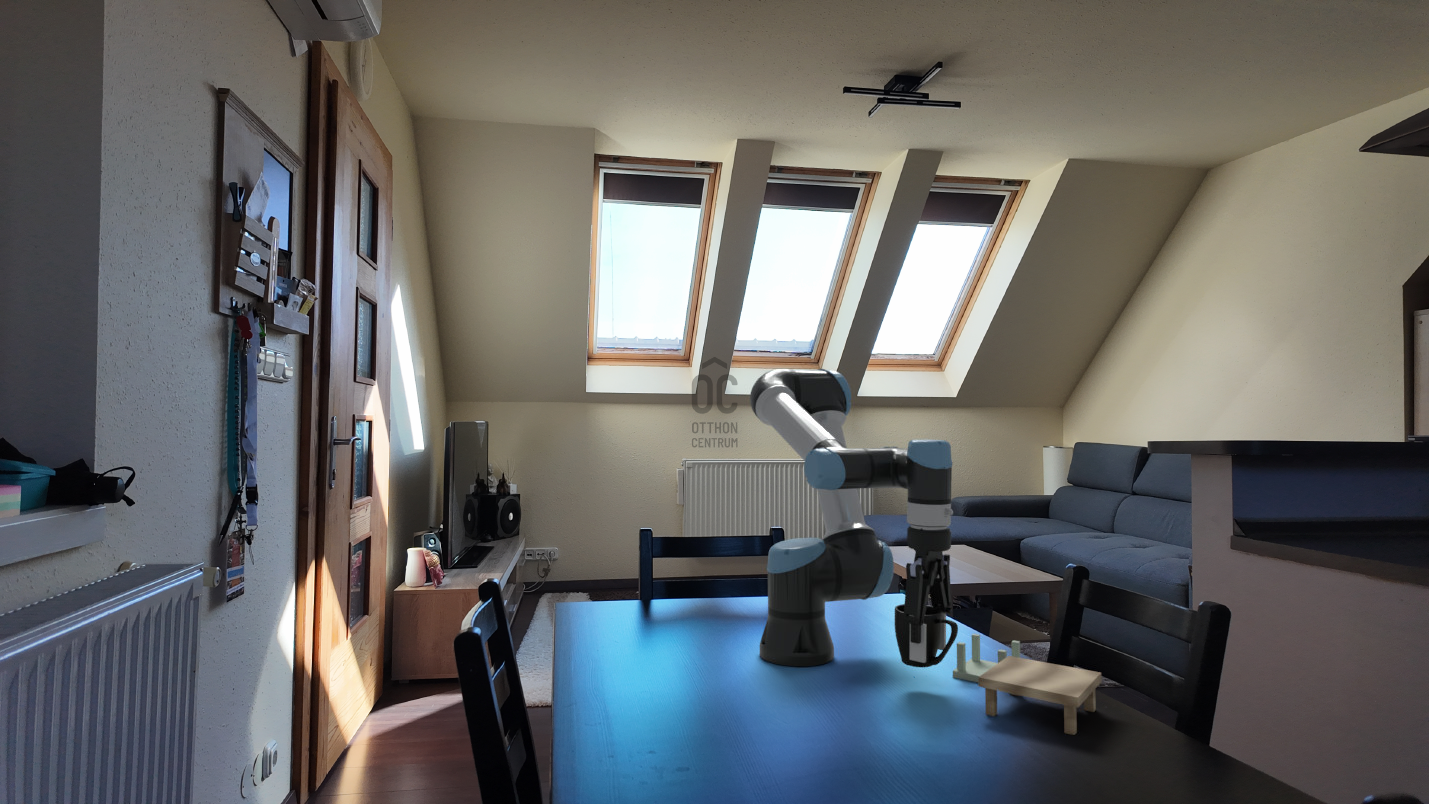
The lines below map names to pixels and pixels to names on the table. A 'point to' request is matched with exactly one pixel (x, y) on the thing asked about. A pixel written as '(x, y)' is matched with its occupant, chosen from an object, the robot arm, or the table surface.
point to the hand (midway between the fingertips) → (928, 654)
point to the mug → (932, 636)
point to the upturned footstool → (978, 660)
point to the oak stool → (1042, 686)
